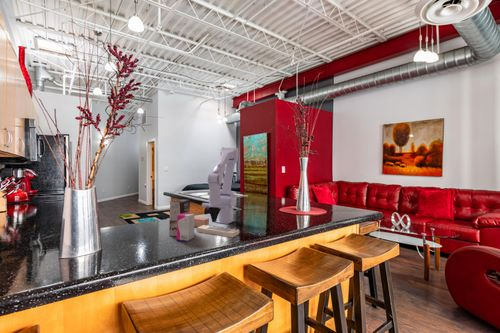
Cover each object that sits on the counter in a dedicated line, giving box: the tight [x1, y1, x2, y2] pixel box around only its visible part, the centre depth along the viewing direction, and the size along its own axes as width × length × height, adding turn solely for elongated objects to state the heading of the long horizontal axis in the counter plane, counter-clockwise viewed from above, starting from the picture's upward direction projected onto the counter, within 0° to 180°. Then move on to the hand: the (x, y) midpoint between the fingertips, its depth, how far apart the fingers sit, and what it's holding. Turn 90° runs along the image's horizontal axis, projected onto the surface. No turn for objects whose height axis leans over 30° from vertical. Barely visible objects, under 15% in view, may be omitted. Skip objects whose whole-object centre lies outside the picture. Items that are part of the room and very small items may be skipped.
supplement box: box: [176, 212, 195, 243], centre depth 117 cm, size 6×6×12 cm
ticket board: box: [196, 224, 240, 238], centre depth 129 cm, size 7×20×2 cm, turn 67°
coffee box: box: [168, 198, 191, 237], centre depth 125 cm, size 9×6×16 cm
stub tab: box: [194, 215, 210, 228], centre depth 142 cm, size 5×12×4 cm, turn 67°
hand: (214, 221), depth 138 cm, fingers closed
